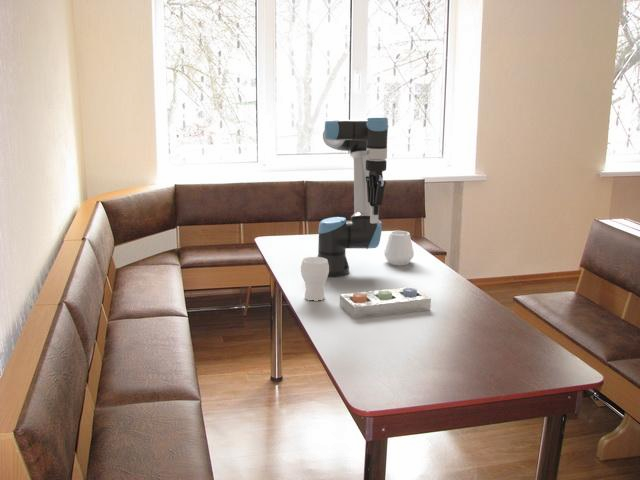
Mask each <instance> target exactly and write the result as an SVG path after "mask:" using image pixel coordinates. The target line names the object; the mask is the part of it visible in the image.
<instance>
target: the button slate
mask: <svg viewBox="0 0 640 480" xmlns="http://www.w3.org/2000/svg"><path fill="white" fill-rule="evenodd" d="M404 288H405V289H403V296H405V297H414V296H417V290H418V289H417V288H416V289H417V290H416V289H413V288H406V287H404Z"/></svg>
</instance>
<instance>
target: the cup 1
mask: <svg viewBox="0 0 640 480" xmlns="http://www.w3.org/2000/svg"><path fill="white" fill-rule="evenodd" d="M300 273H301V274H300V275H301V277H302V280H303V282H304V285H305V292H304V297H305V298H306V299H309V300H314V301H313V302H319V301H318V300H321V301H323V299H324V298H325V297H326V296H325V291H324V288H325V282H326V281H327V279H328V277H329V276H328V274H329V264H328V260H327V259H325V258H322V257H317V256H308V257H305V258H303V259H302V260H301V265H300ZM305 298H304V299H305ZM306 299H305V300H306ZM309 300H308V301H309ZM324 300H325V299H324Z"/></svg>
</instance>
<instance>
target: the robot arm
mask: <svg viewBox="0 0 640 480" xmlns="http://www.w3.org/2000/svg"><path fill="white" fill-rule="evenodd" d="M388 131H389V119H388V117H387V116H383V115H373V116H368V117H367V118H366V119H336V118H335V119H333V118H332V119H326V120H325V122H324V130H323V133H322V141H323V142H324V144H325V145H326V146H327V147H329V148H331V149H333V150H337V151H347V152H349V156H350V157H351V158H352V159H353V198H354V199H353V206H354V207H353V209H354V210H353V212H354V213H353V214H352V215H351V216H350V221H349V220H347V219H346V217H343V216H333V217H327V218H324V219H322V220H320V222H319V224H318V243H317V244H318V248H317V249H318V250H317V252H318V253H317V256H316V257H322V258H325V259H327V260H328V264H329V274H328V277H334V278H335V277H343V276H346V275H348V274H349V273H350V266H349V263H348V259H347V256H346V255H347V254H346V249H366V250H368V249H376V248H378V247H379V245H380V242H381V236H382V229H383V227H382V226H383V225H382V223H383V222H382V221H380V220H379V214H380V213H379V211H380V210H379V209H380V206H382V205H383V200H384V199H383V198H384V193H385V192H384V191H385V187H386V184H387V181H386V180H384V176H383V172H385V171H386V170H387V157H388Z"/></svg>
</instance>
